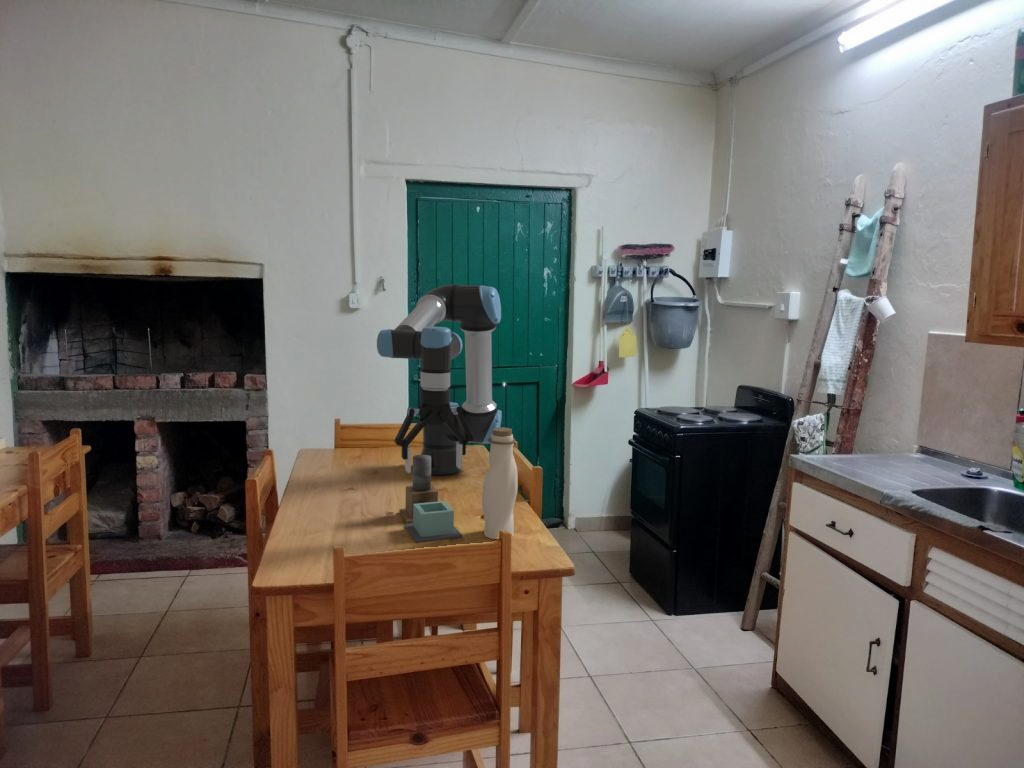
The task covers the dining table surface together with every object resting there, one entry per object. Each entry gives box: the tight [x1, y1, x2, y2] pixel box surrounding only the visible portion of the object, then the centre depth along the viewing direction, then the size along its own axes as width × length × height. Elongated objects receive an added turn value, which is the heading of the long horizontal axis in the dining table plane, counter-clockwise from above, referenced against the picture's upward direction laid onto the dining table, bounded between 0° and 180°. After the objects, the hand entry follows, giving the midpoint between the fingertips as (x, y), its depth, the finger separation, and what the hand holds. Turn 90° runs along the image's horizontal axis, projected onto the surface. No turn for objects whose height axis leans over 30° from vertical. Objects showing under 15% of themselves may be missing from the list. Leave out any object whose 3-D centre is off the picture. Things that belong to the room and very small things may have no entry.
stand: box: [398, 454, 439, 524], centre depth 187 cm, size 10×10×17 cm
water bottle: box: [481, 426, 519, 540], centre depth 176 cm, size 10×9×28 cm
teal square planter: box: [413, 500, 455, 537], centre depth 177 cm, size 8×8×6 cm
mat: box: [404, 523, 463, 543], centre depth 177 cm, size 12×12×1 cm
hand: (433, 469), depth 175 cm, fingers open, 13 cm apart
